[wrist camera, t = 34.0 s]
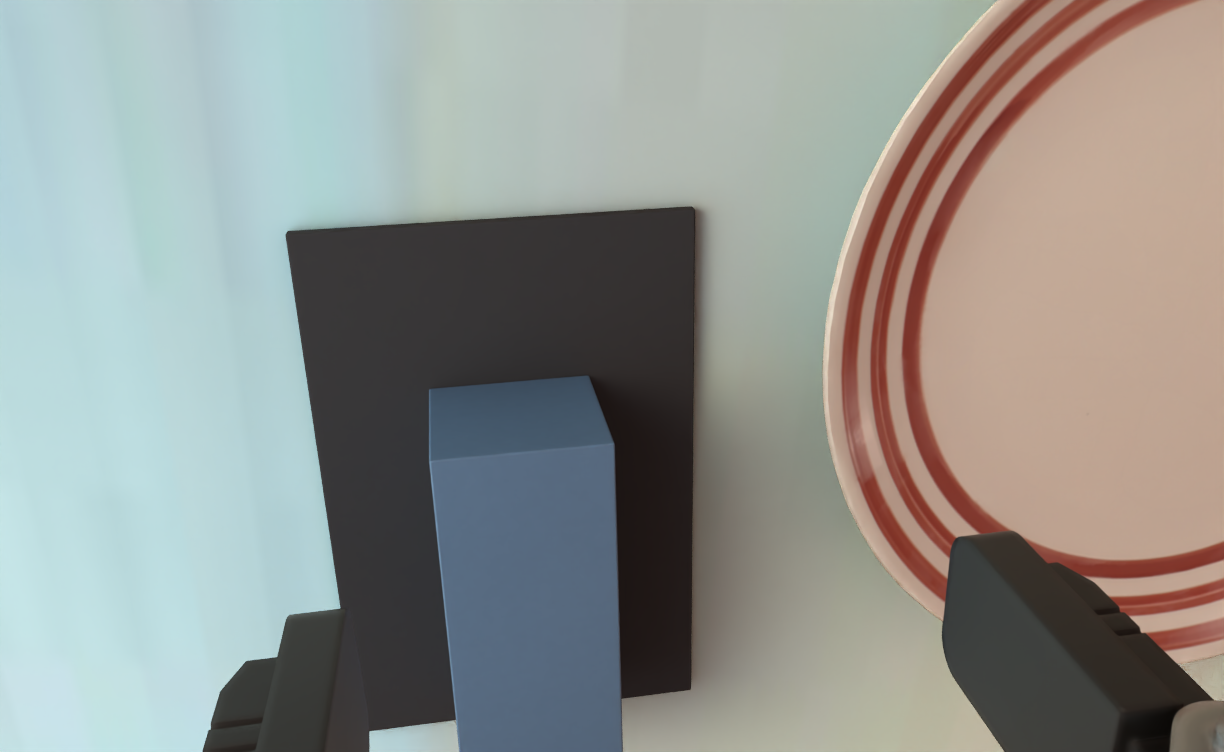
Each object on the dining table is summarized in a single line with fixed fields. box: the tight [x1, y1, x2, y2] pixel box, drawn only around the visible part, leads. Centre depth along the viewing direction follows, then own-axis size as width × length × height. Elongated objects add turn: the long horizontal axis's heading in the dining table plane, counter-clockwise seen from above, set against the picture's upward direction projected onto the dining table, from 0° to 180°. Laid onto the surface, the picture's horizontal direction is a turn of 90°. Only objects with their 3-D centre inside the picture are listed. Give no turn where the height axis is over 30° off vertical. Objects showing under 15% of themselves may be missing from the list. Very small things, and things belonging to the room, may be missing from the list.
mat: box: [286, 207, 695, 731], centre depth 34 cm, size 12×18×1 cm, turn 2°
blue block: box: [429, 376, 623, 752], centre depth 32 cm, size 5×5×12 cm
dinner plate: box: [822, 0, 1224, 664], centre depth 34 cm, size 28×27×3 cm
